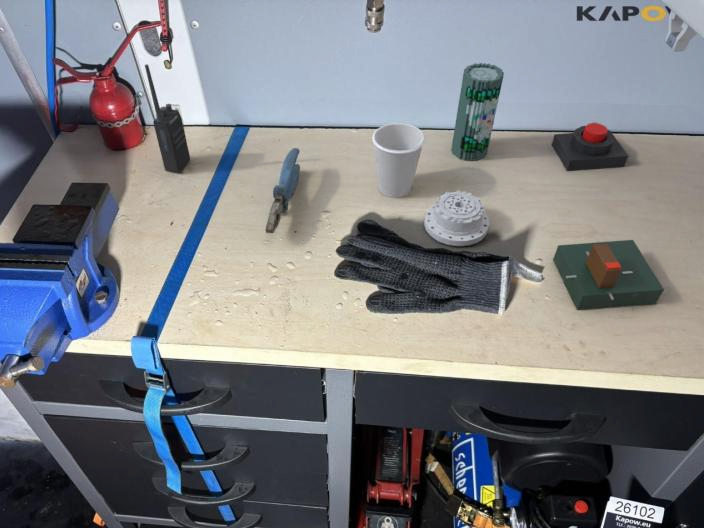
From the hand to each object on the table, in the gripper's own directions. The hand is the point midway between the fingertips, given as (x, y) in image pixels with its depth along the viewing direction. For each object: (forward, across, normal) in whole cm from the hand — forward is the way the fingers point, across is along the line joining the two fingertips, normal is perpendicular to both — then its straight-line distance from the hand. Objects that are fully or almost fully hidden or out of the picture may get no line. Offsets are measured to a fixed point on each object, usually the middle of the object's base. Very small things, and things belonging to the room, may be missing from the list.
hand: (674, 47), depth 88 cm
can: (+21, +8, +25) cm, 34 cm away
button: (+18, +4, +5) cm, 19 cm away
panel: (+21, -26, +14) cm, 36 cm away
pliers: (+21, -4, +59) cm, 63 cm away
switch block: (+21, +4, +5) cm, 22 cm away
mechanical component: (+21, -12, +32) cm, 40 cm away
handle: (+18, -28, +16) cm, 37 cm away
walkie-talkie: (+21, +10, +78) cm, 81 cm away
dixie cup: (+21, -1, +40) cm, 45 cm away
